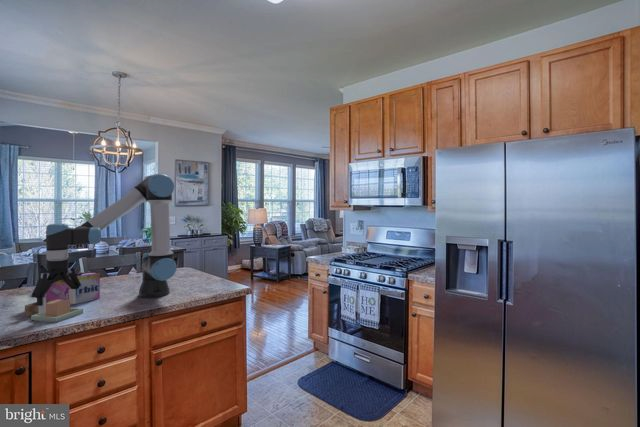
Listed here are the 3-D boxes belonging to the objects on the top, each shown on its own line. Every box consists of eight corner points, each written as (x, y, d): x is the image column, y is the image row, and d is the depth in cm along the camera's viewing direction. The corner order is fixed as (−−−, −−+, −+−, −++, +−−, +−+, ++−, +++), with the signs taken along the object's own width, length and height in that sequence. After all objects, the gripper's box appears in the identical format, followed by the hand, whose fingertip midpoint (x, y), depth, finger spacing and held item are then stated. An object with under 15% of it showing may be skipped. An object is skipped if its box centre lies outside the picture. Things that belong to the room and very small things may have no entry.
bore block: (57, 311, 150) (57, 301, 150) (40, 316, 142) (39, 306, 142) (43, 310, 151) (43, 300, 151) (24, 315, 144) (24, 305, 143)
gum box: (42, 310, 151) (41, 281, 151) (36, 307, 156) (36, 278, 156) (100, 298, 171) (100, 272, 171) (94, 296, 175) (93, 270, 175)
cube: (69, 313, 145) (69, 300, 145) (56, 318, 139) (56, 304, 139) (58, 312, 146) (58, 299, 146) (45, 317, 140) (44, 303, 140)
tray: (83, 312, 148) (83, 308, 148) (56, 322, 136) (56, 317, 135) (59, 311, 150) (59, 306, 150) (31, 320, 138) (30, 315, 138)
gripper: (76, 254, 155) (76, 299, 156) (19, 264, 131) (20, 316, 131) (90, 255, 154) (90, 300, 154) (35, 264, 129) (35, 318, 130)
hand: (58, 308), depth 143 cm, fingers open, 13 cm apart
